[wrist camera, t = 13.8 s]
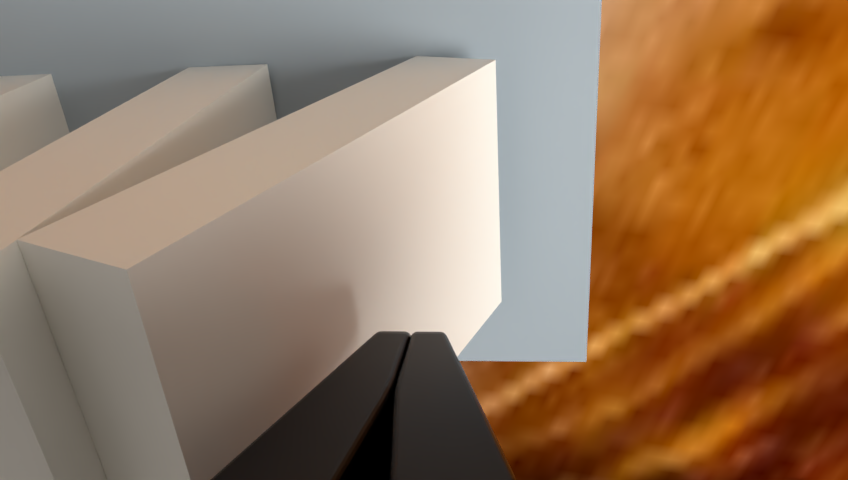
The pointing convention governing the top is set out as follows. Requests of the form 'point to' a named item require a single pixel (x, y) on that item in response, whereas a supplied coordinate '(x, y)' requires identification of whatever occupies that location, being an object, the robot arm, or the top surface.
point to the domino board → (356, 61)
